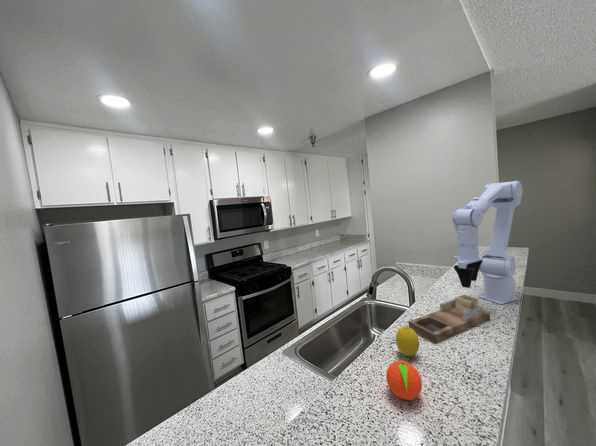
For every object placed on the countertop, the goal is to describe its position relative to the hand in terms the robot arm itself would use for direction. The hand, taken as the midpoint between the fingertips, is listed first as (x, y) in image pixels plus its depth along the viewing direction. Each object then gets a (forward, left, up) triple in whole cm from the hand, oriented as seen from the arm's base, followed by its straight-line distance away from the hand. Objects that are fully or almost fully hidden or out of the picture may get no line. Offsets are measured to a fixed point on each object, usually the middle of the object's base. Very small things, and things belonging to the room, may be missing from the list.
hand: (469, 283), depth 80 cm
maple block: (+4, +2, -8) cm, 9 cm away
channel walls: (+7, +2, -8) cm, 11 cm away
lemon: (+35, +9, -10) cm, 37 cm away
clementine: (+45, +19, -10) cm, 50 cm away
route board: (+12, +3, -10) cm, 16 cm away
